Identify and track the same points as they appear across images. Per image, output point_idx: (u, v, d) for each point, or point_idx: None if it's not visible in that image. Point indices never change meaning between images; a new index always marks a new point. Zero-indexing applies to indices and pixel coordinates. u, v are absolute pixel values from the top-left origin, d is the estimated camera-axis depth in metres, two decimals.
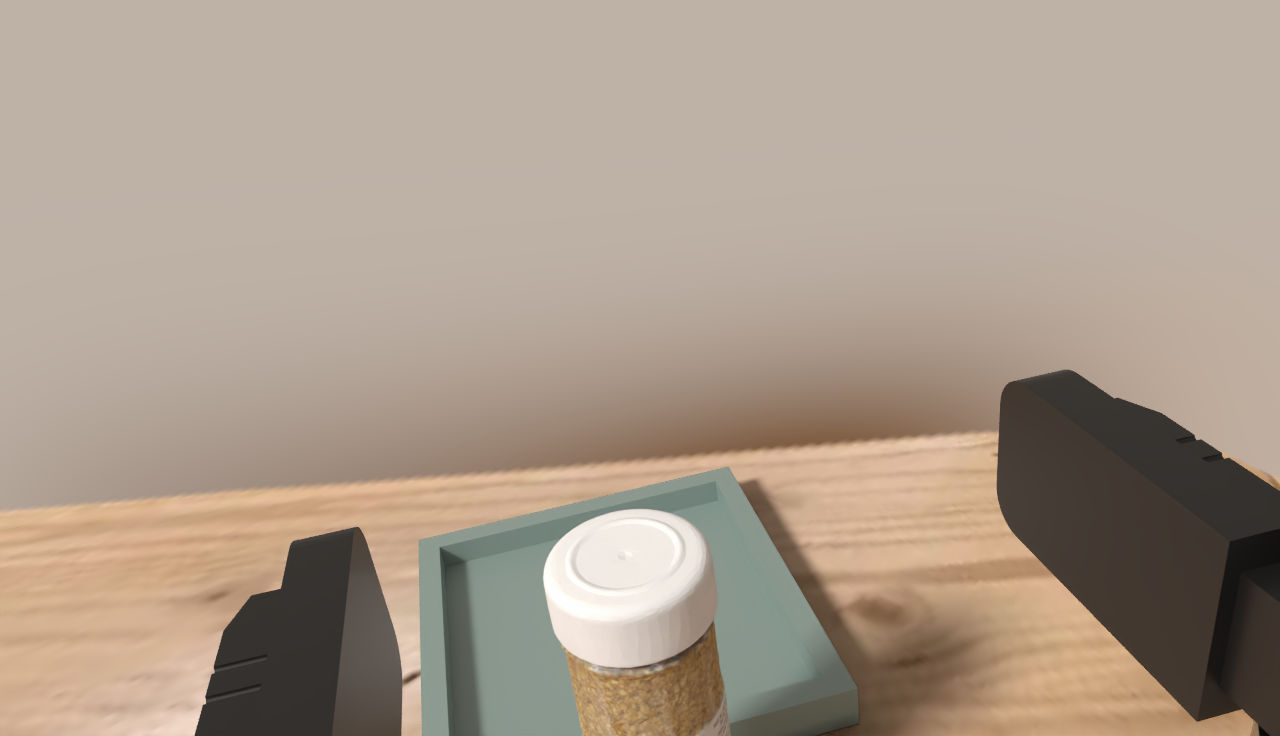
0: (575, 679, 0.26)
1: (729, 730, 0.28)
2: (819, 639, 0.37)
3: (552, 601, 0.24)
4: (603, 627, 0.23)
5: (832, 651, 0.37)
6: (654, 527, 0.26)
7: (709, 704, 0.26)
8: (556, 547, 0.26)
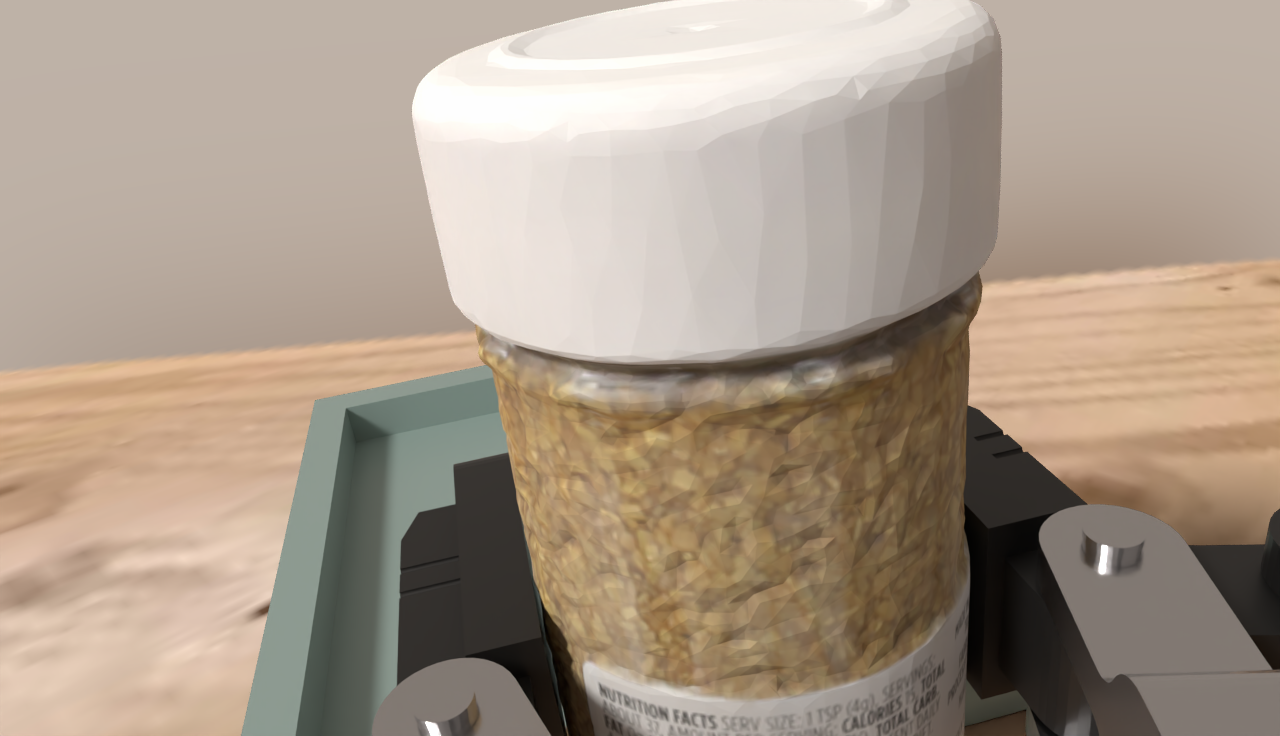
0: (523, 467, 0.08)
1: None
2: None
3: (431, 131, 0.07)
4: (618, 169, 0.06)
5: None
6: None
7: (950, 557, 0.08)
8: None
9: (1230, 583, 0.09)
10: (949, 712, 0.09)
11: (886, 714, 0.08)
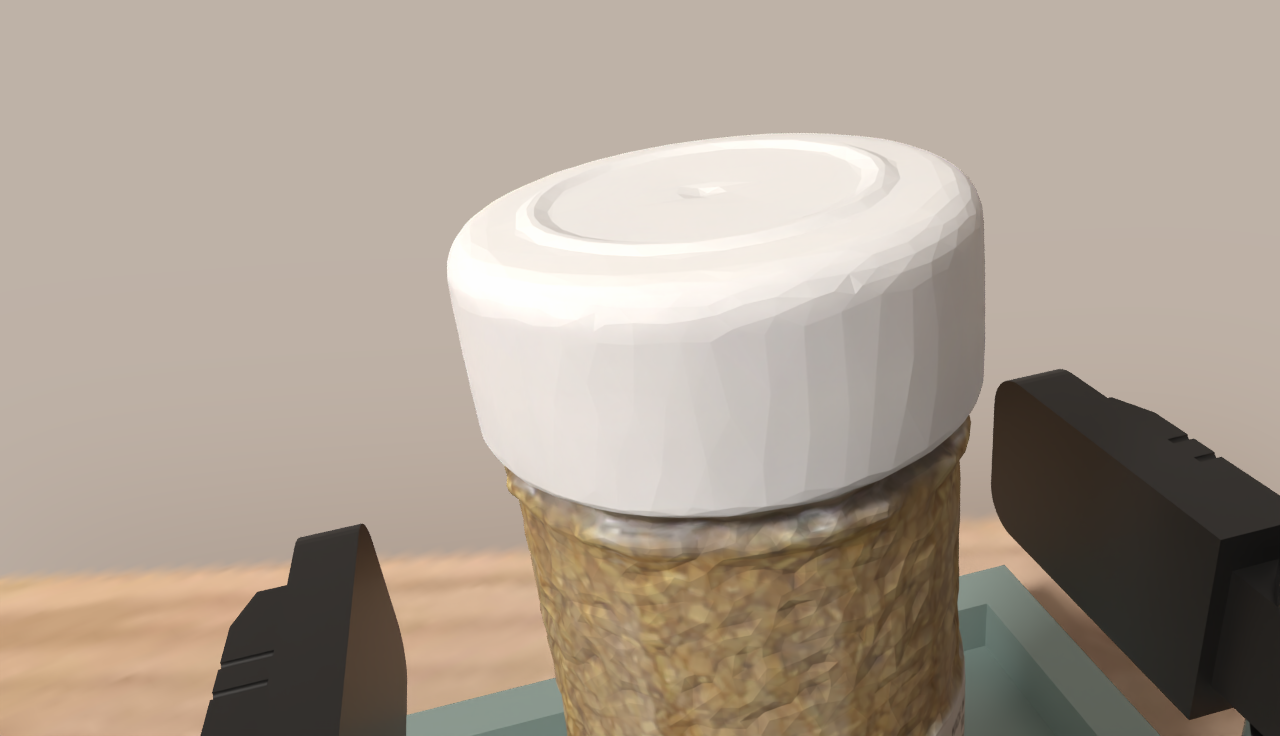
0: (549, 588, 0.09)
1: None
2: None
3: (466, 304, 0.07)
4: (640, 354, 0.06)
5: None
6: (780, 148, 0.09)
7: (946, 667, 0.09)
8: (494, 201, 0.09)
9: None
10: None
11: None
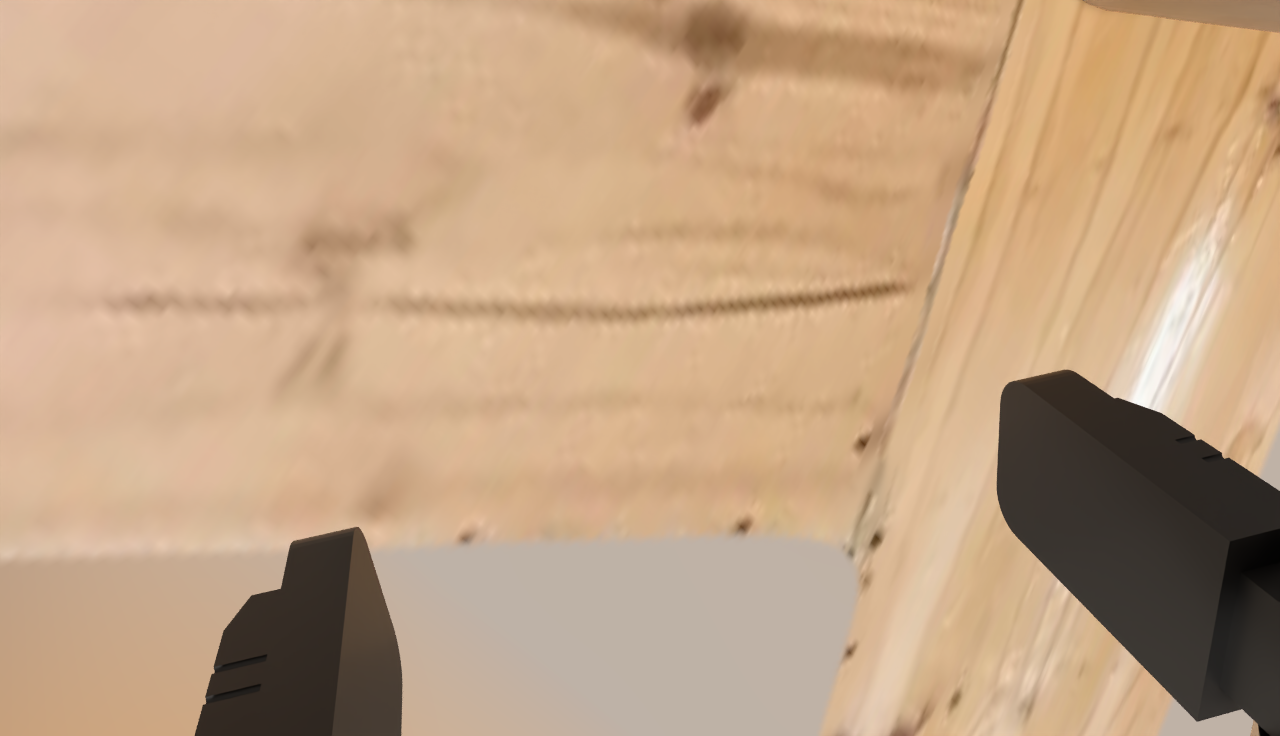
0: None
1: None
2: None
3: None
4: None
5: None
6: None
7: None
8: None
9: None
10: None
11: None
